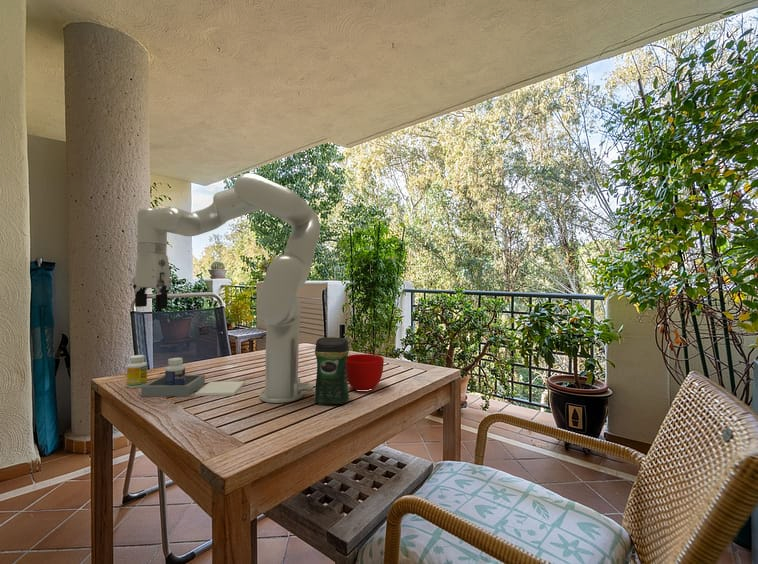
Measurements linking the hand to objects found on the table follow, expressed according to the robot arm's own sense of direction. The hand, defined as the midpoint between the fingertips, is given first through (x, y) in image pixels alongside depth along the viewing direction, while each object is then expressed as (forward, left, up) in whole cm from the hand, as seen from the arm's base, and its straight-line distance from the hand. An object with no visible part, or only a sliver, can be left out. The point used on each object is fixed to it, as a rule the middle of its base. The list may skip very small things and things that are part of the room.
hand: (150, 307), depth 108 cm
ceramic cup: (-65, -5, -26) cm, 70 cm away
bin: (-6, -4, -26) cm, 27 cm away
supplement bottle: (+8, -9, -26) cm, 29 cm away
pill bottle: (-6, -4, -26) cm, 27 cm away
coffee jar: (-55, +9, -26) cm, 61 cm away
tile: (-20, -4, -26) cm, 33 cm away
